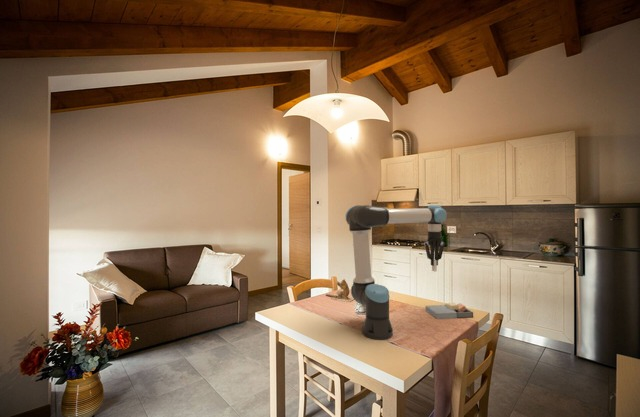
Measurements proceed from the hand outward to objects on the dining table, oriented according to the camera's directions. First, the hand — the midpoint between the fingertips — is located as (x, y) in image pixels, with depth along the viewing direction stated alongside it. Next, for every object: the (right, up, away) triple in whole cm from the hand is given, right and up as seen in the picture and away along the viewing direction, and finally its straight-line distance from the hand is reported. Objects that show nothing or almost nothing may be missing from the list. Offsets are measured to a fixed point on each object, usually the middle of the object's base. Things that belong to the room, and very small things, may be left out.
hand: (434, 270), depth 179 cm
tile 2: (+15, -21, +1) cm, 26 cm away
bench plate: (+4, -25, -1) cm, 26 cm away
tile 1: (+11, -22, 0) cm, 25 cm away
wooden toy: (-54, -26, +33) cm, 69 cm away
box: (+14, -25, +1) cm, 29 cm away
